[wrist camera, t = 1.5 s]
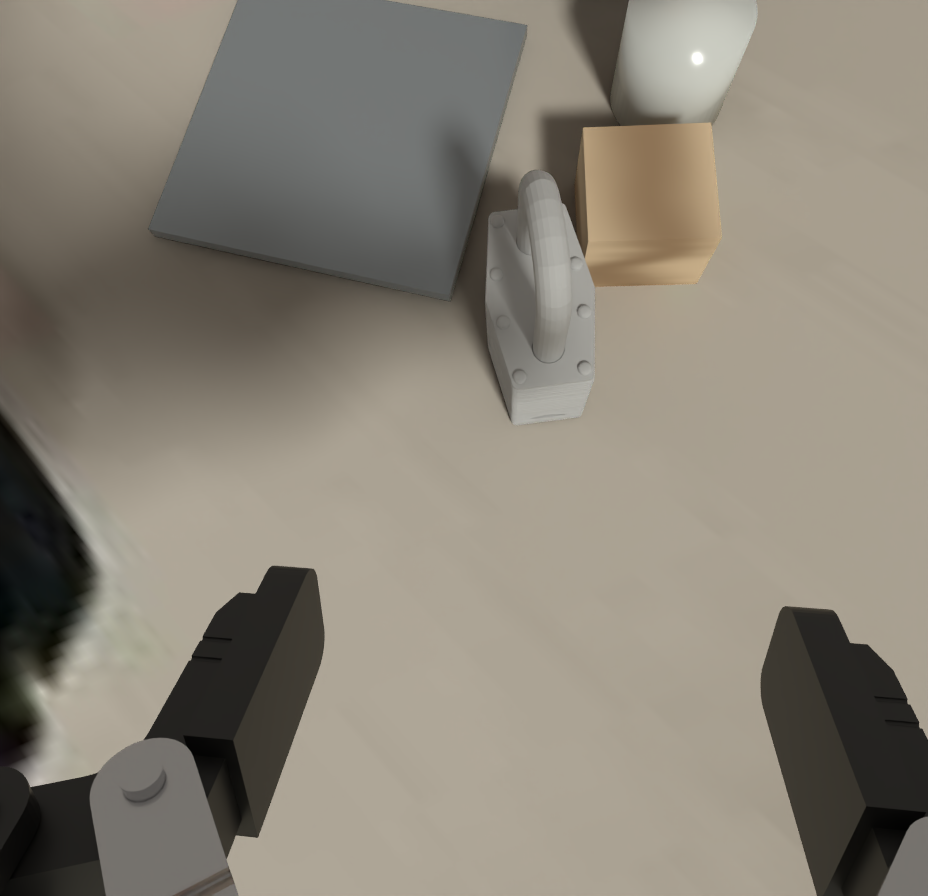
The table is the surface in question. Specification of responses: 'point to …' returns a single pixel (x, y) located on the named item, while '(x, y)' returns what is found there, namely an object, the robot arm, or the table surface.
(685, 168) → the oak block
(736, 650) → the table surface
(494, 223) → the padlock
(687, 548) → the table surface
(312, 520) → the table surface
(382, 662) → the table surface
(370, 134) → the mat
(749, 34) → the white rounded capsule
